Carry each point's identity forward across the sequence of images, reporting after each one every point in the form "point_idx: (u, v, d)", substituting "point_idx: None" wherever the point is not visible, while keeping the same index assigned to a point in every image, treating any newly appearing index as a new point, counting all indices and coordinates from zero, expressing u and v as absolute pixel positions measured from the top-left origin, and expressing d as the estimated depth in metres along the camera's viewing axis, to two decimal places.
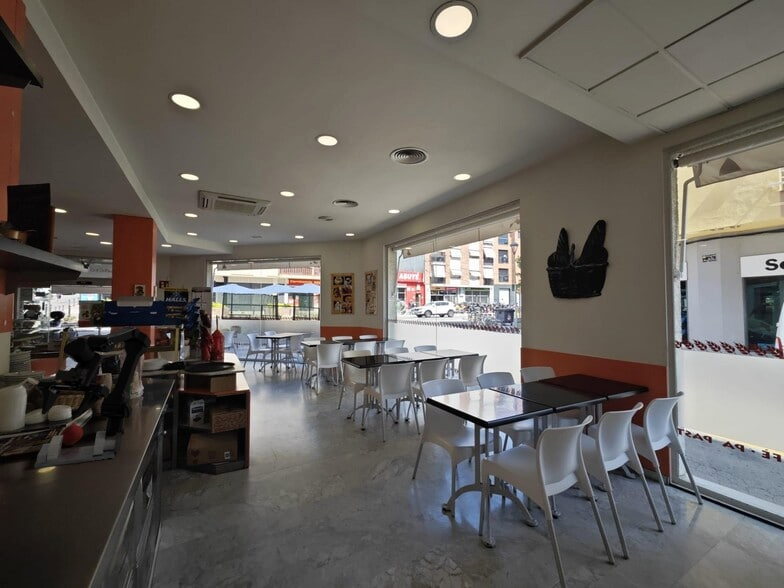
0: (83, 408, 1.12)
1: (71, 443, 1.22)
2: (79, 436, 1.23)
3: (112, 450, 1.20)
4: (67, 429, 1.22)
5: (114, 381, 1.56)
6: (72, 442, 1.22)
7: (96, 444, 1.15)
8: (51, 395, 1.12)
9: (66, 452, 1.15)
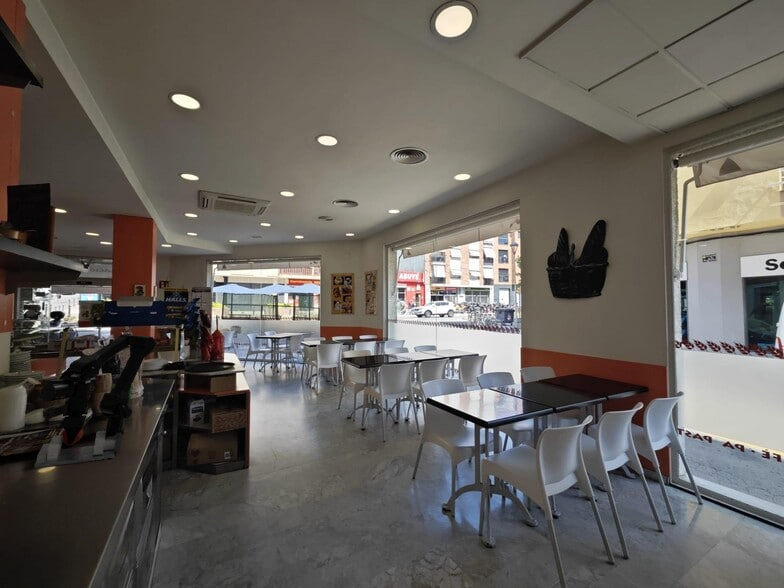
0: (71, 437, 1.20)
1: None
2: (79, 436, 1.23)
3: (112, 450, 1.20)
4: None
5: (114, 381, 1.56)
6: None
7: (96, 444, 1.15)
8: None
9: (66, 452, 1.15)
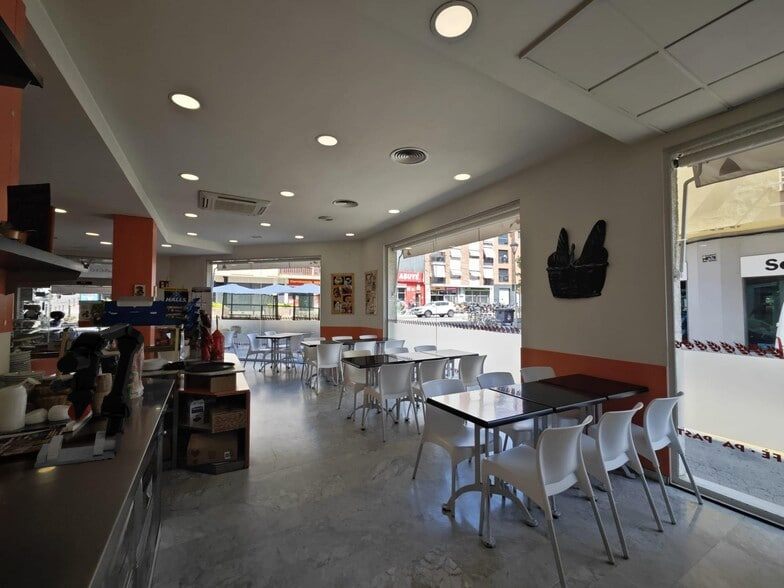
0: (79, 412, 1.14)
1: (78, 419, 1.16)
2: (87, 412, 1.17)
3: (112, 450, 1.20)
4: None
5: None
6: None
7: (96, 444, 1.15)
8: None
9: (66, 452, 1.15)
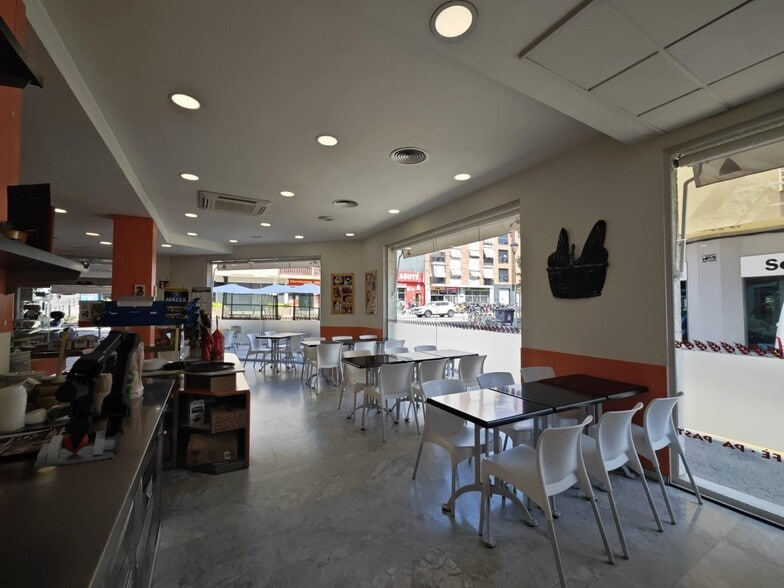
0: (76, 441, 1.11)
1: (76, 450, 1.14)
2: (84, 442, 1.15)
3: (112, 450, 1.20)
4: None
5: None
6: (77, 449, 1.14)
7: (96, 444, 1.15)
8: None
9: (66, 452, 1.15)
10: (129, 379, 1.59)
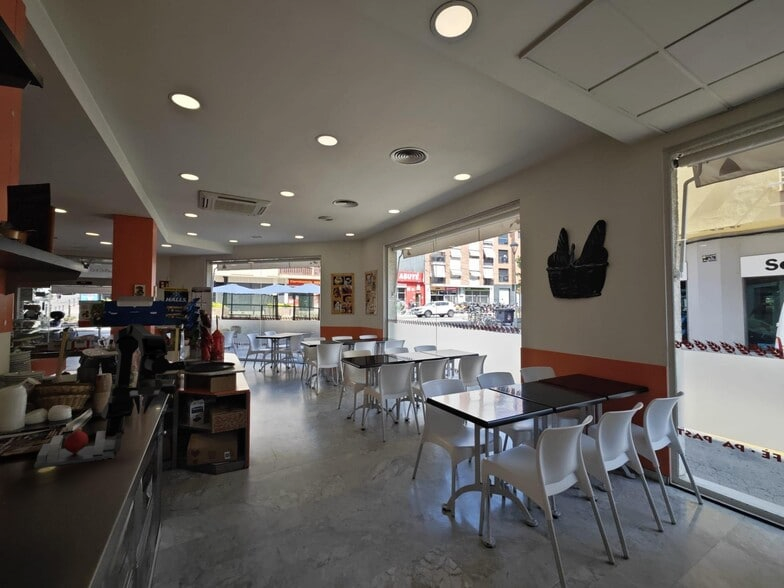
0: None
1: (76, 451, 1.14)
2: (84, 443, 1.15)
3: (112, 450, 1.20)
4: (71, 436, 1.14)
5: (114, 381, 1.56)
6: (77, 450, 1.14)
7: (96, 444, 1.15)
8: None
9: (66, 452, 1.15)
10: None
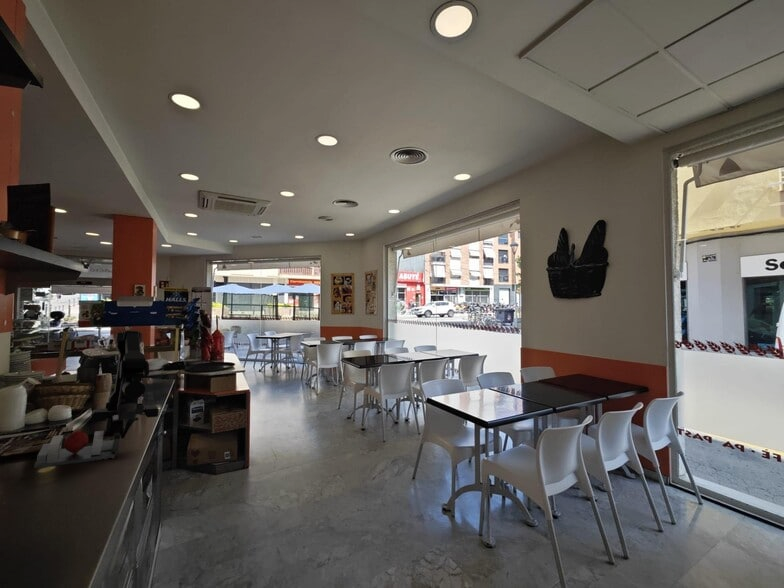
0: None
1: (76, 451, 1.14)
2: (84, 443, 1.15)
3: None
4: (71, 436, 1.14)
5: (114, 381, 1.56)
6: (77, 450, 1.14)
7: (94, 444, 1.15)
8: None
9: (66, 452, 1.15)
10: None
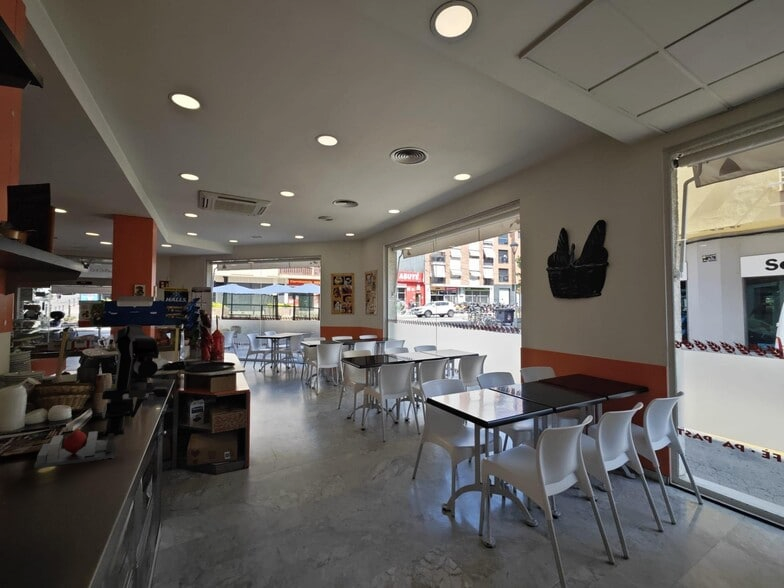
0: None
1: (75, 451, 1.14)
2: (83, 443, 1.15)
3: (112, 450, 1.20)
4: (70, 436, 1.14)
5: (114, 381, 1.56)
6: (76, 450, 1.14)
7: (87, 445, 1.14)
8: None
9: (66, 452, 1.15)
10: None
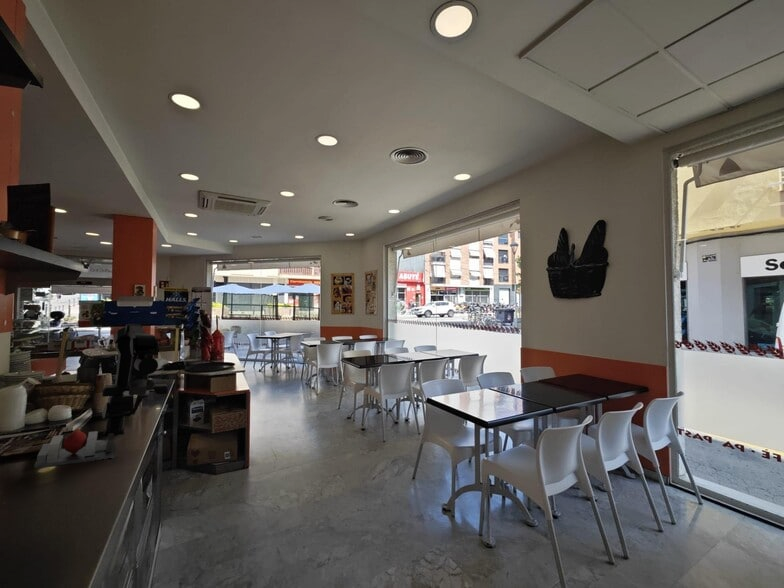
0: (137, 407, 1.25)
1: (75, 451, 1.14)
2: (83, 443, 1.15)
3: (112, 450, 1.20)
4: (70, 436, 1.14)
5: (114, 381, 1.56)
6: (76, 450, 1.14)
7: (87, 445, 1.14)
8: None
9: (66, 452, 1.15)
10: None
